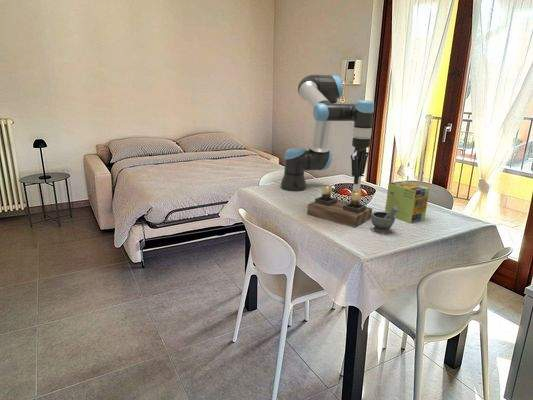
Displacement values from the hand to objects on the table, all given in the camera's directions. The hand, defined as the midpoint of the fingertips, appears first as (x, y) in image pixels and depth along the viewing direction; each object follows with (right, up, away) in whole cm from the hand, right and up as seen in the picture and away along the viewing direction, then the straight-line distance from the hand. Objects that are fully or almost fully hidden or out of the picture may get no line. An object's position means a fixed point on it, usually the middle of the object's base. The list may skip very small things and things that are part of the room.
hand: (356, 190), depth 169 cm
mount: (-6, -12, +9) cm, 16 cm away
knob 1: (-12, -3, +11) cm, 16 cm away
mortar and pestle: (+10, -18, -7) cm, 21 cm away
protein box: (+26, -12, +11) cm, 31 cm away
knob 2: (0, -6, +2) cm, 6 cm away
